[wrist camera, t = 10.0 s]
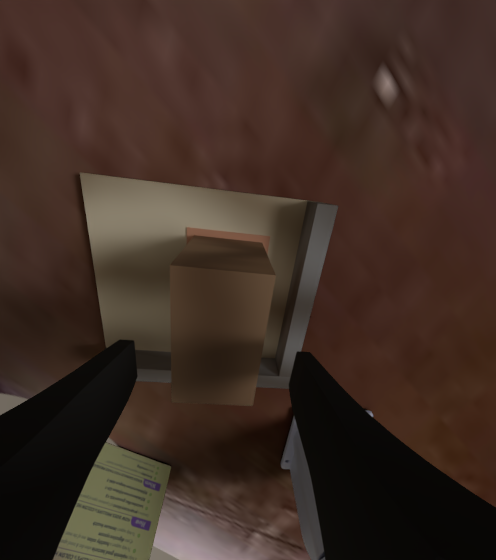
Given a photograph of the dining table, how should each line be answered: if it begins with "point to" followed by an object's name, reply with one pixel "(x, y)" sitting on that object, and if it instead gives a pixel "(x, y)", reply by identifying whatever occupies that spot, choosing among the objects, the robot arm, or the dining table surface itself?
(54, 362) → the dining table surface
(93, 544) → the box
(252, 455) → the dining table surface
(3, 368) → the dining table surface
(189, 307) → the walnut block
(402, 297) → the dining table surface
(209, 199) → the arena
